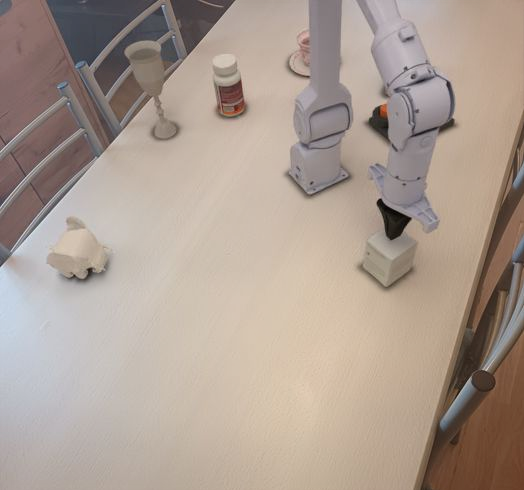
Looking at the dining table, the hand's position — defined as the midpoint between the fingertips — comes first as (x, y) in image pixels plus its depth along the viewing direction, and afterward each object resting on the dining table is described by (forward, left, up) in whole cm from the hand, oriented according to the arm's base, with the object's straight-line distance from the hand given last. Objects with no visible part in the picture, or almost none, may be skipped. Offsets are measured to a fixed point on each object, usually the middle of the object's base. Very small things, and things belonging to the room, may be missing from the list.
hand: (393, 235), depth 81 cm
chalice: (-17, +59, -9) cm, 62 cm away
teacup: (+24, +61, -9) cm, 66 cm away
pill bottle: (-1, +57, -9) cm, 58 cm away
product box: (0, 0, -9) cm, 9 cm away
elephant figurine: (-46, +31, -9) cm, 56 cm away
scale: (+28, +29, -8) cm, 41 cm away
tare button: (+23, +32, -6) cm, 40 cm away
